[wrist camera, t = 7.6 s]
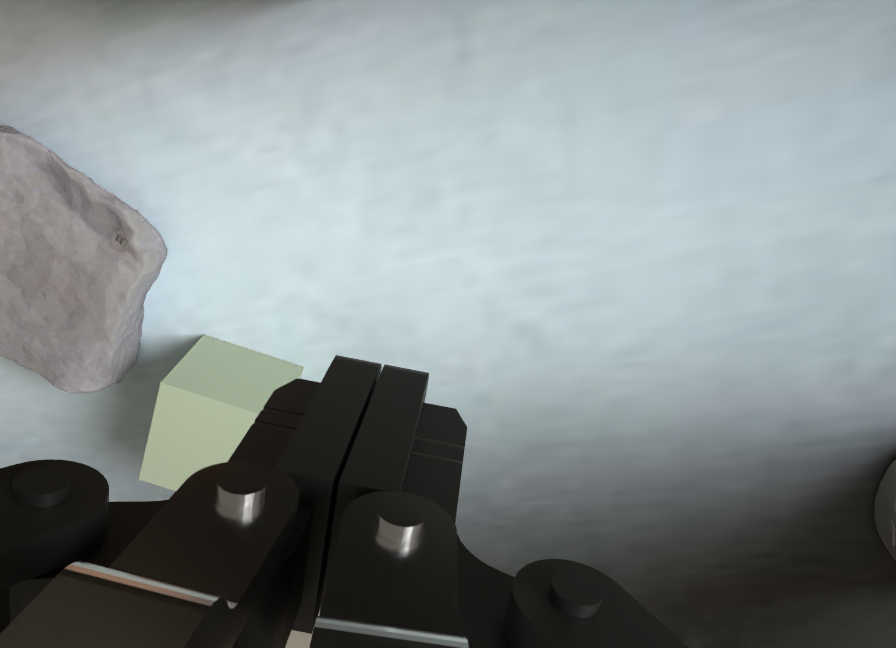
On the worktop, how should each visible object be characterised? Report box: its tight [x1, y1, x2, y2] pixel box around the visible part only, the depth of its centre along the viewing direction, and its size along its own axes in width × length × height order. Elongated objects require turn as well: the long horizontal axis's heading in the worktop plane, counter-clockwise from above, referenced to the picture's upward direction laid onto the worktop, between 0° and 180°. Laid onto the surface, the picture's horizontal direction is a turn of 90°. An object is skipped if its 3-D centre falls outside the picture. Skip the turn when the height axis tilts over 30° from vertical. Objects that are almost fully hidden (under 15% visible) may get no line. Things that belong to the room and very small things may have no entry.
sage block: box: [139, 334, 304, 491], centre depth 38 cm, size 5×5×6 cm
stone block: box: [0, 126, 167, 393], centre depth 37 cm, size 12×5×10 cm
